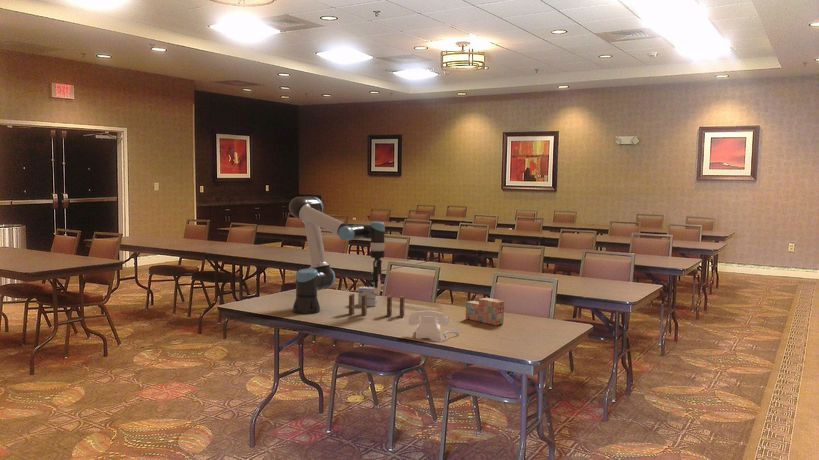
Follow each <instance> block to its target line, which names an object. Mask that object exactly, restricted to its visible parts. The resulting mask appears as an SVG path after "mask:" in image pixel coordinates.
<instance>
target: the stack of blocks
mask: <svg viewBox="0 0 819 460" xmlns="http://www.w3.org/2000/svg"><path fill="white" fill-rule="evenodd" d="M504 315H505V301H504V300H500V299H496V298H495V299H494V298H491V297H490V298H489V297H484V298H479V299H478V301H476V300H469V301H465V320H466V319H467V320H470V321H474V322H479V323H484V324H489V325H493V326H501V325H504V319H505V318H504ZM500 324H501V325H500Z"/></svg>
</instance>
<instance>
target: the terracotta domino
mask: <svg viewBox="0 0 819 460" xmlns="http://www.w3.org/2000/svg"><path fill="white" fill-rule="evenodd" d="M378 280H379V294H376V293H375V296H377V297H378V296H380V293H381V292H380V280H381V279H380V274H379V279H378Z"/></svg>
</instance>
